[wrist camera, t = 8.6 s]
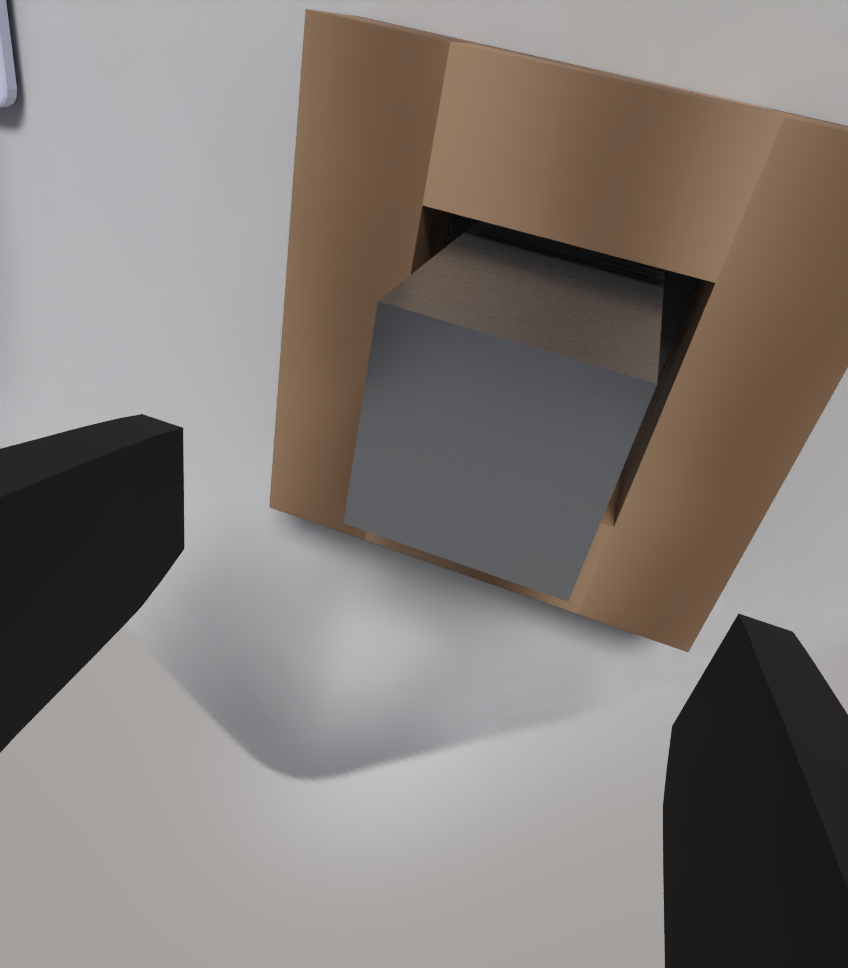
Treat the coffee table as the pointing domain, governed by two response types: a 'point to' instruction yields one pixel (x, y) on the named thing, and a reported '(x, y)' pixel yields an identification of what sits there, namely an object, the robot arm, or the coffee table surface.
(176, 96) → the coffee table surface
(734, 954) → the robot arm
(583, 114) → the socket block
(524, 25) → the coffee table surface
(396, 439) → the peg
